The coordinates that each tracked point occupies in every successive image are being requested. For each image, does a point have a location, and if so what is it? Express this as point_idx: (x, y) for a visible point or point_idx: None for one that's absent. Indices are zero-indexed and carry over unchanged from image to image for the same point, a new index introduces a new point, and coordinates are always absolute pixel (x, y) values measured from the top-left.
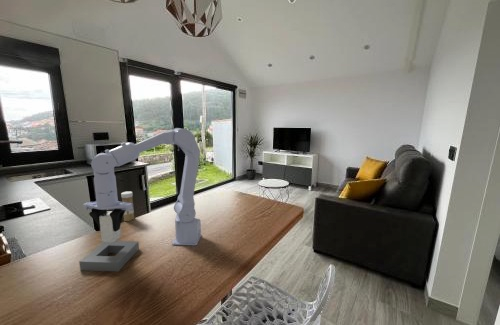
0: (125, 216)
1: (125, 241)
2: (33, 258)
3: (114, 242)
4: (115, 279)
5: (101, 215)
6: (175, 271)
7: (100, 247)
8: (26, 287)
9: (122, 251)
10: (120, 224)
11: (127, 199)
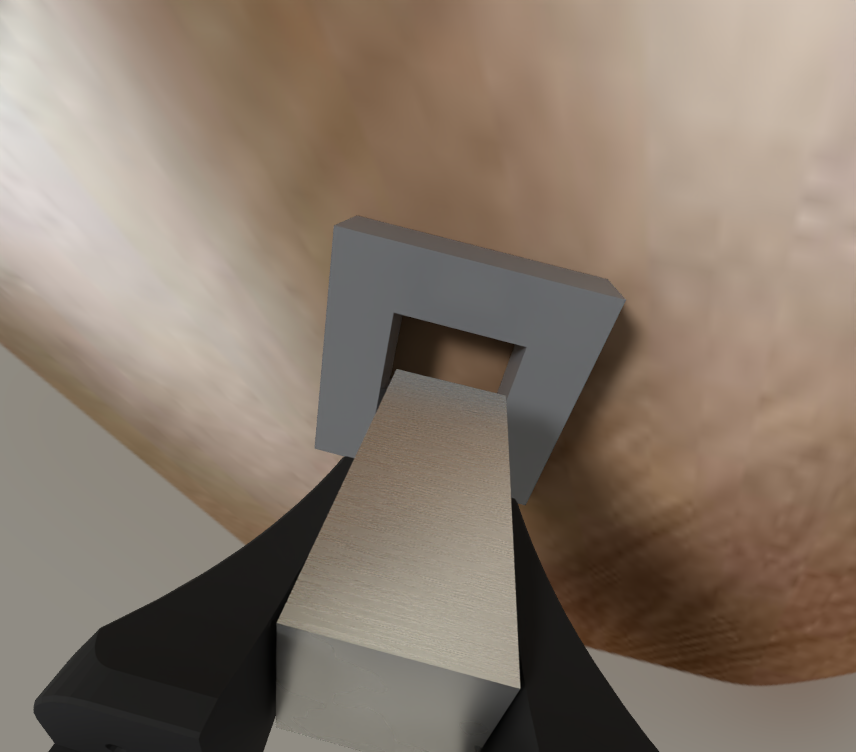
0: None
1: (511, 277)
2: (8, 260)
3: (422, 276)
4: (523, 509)
5: (293, 720)
6: (815, 534)
7: (350, 330)
8: (202, 465)
9: (524, 412)
10: (528, 534)
11: None
